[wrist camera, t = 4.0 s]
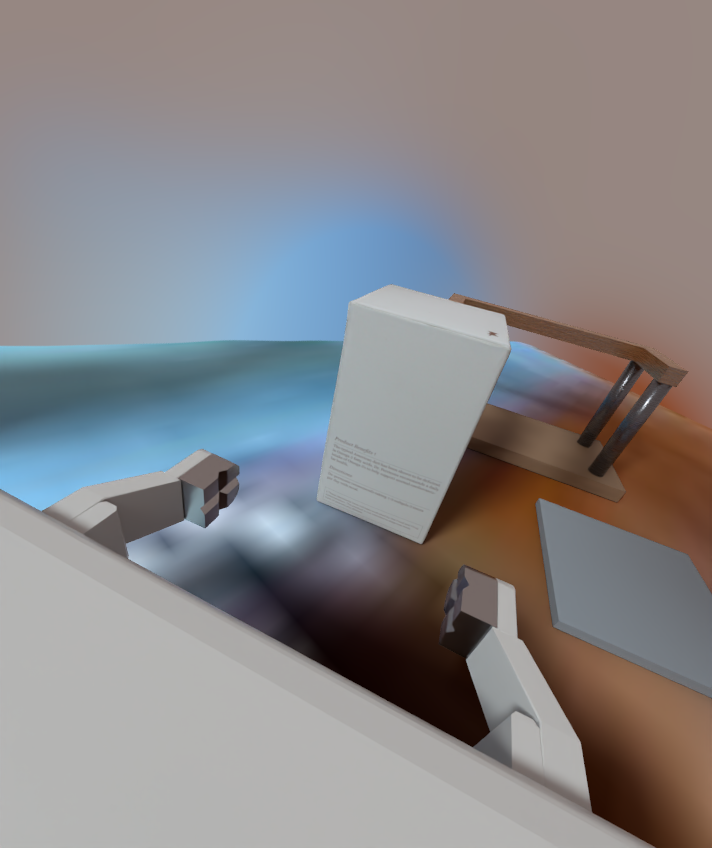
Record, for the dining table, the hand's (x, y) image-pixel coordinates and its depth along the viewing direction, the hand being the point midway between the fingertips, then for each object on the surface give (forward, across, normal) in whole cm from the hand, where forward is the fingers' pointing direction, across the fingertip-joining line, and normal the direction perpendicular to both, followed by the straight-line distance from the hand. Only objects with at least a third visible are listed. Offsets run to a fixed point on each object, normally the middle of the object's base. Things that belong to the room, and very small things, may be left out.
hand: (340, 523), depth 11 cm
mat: (+11, -16, +7) cm, 20 cm away
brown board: (+24, -8, +7) cm, 27 cm away
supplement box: (+11, 0, +7) cm, 13 cm away
